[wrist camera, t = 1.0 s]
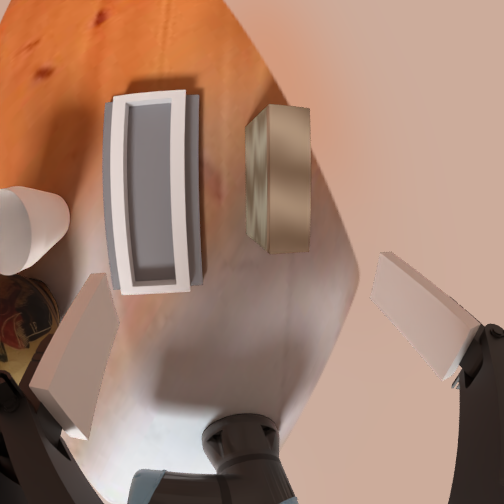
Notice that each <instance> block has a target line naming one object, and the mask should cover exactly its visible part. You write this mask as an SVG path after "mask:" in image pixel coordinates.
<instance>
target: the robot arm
mask: <svg viewBox="0 0 504 504" xmlns="http://www.w3.org/2000/svg"><path fill="white" fill-rule="evenodd" d="M370 299H371V300H372V301H373V302H374V303H375V305H376V306H377V307H378V308H379V309H380V310H381V311H382V312H383V313H384V314H385V315H386V317H387V318H388V319H389V320H390V321H391V322H392V323H393V324H394V326H395V327H396V328H397V329H398V330H399V331H400V332H401V333H402V335H403V336H404V337H405V338H406V339H407V340H408V342H409V343H410V344H411V345H412V346H413V347H414V349H415V350H416V351H417V352H418V353H419V355H420V356H421V357H422V358H423V359H424V360H425V362H426V363H427V364H428V365H429V367H430V368H431V369H432V370H433V371H434V373H435V374H436V375H437V376H438V377H439V379H440V380H441V381H443V380H445V379H447V378H448V377H450V376H452V375H453V374H454V372H455V370H456V369H457V367H458V365H460V366H461V367H462V370H461V371H460V373H459V375H458V376H457V378H456V379H455V381H454V382H453V384H452V388H454V387H455V385H456V384H457V382H459V385H458V386H457V388H456V389H460V417H459V436H458V449H457V457H456V464H455V471H454V478H453V483H452V488H451V493H450V498H449V502H448V504H504V330H503V329H502V328H501V327H499V326H498V325H495V324H487V325H486V326H483V325H482V324H481V323H480V322H479V321H478V320H476V318H474V317H473V316H472V315H471V314H470V313H469V312H467V311H466V310H464V308H463V307H462V306H461V305H459V304H458V303H457V302H456V301H455V300H454V299H452V298H451V297H449V296H448V295H447V294H445V293H444V292H443V291H442V290H441V289H439V288H438V287H436V285H434V284H433V283H432V282H431V281H429V280H428V279H427V278H425V277H424V276H423V275H422V274H420V273H419V272H418V271H416V270H415V269H414V268H412V267H411V266H410V265H409V264H407V263H406V262H404V261H403V260H402V259H400V258H399V257H398V256H396V255H395V254H394V253H392V252H383V253H380V256H379V260H378V265H377V270H376V275H375V279H374V284H373V288H372V292H371V296H370ZM119 324H120V322H119V318H118V315H117V312H116V309H115V305H114V302H113V298H112V295H111V291H110V288H109V284H108V280H107V276H106V273H96V274H91V275H90V276H89V278H88V279H87V281H86V282H85V284H84V285H83V287H82V288H81V290H80V292H79V293H78V295H77V296H76V298H75V300H74V301H73V303H72V304H71V306H70V308H69V309H68V311H67V313H66V314H65V316H64V318H63V320H62V321H61V323H60V325H59V327H58V328H57V330H56V332H55V334H48V335H47V336H46V337H45V338H44V339H43V340H42V341H41V342H40V344H39V346H38V347H37V349H36V351H35V352H36V353H34V355H33V357H32V359H31V360H32V361H30V363H29V365H28V367H27V369H26V371H25V373H24V375H23V377H22V379H21V381H20V383H19V385H18V384H17V383H16V381H15V380H14V379H13V377H12V376H11V374H10V373H9V372H7V371H6V370H0V504H104V503H103V502H102V501H101V499H100V498H99V497H98V495H97V494H96V492H95V491H94V489H93V488H92V486H91V485H90V483H89V482H88V480H87V479H86V477H85V476H84V474H83V473H82V471H81V469H80V468H79V466H78V465H77V463H76V461H75V459H74V458H73V456H72V454H71V452H70V451H69V449H68V447H67V445H66V443H65V441H64V440H63V439H62V437H61V436H60V435H61V431H62V429H63V430H64V431H65V432H66V433H67V434H68V435H69V436H70V437H73V438H79V439H84V440H89V435H90V430H91V425H92V421H93V416H94V411H95V407H96V403H97V399H98V395H99V391H100V387H101V383H102V379H103V376H104V372H105V369H106V365H107V362H108V358H109V355H110V352H111V348H112V345H113V342H114V339H115V336H116V333H117V330H118V327H119ZM202 445H203V450H204V452H205V454H206V455H207V457H208V459H209V460H210V462H211V464H212V465H213V467H214V468H215V470H216V472H217V474H191V473H177V472H168V471H166V470H162V471H160V470H149V469H141V470H139V471H137V472H136V473H135V475H134V477H133V479H132V483H131V487H130V491H129V497H128V503H127V504H298V501H297V497H295V494H294V492H293V490H292V488H291V485H290V483H289V481H288V478H287V476H286V474H285V472H284V469H283V467H282V465H281V462H280V460H279V432H278V430H277V428H276V425H275V423H274V422H273V421H272V420H270V419H269V418H267V417H264V416H261V415H256V414H240V415H233V416H229V417H226V418H223V419H220V420H218V421H216V422H214V423H213V424H211V425H210V426H209V427H208V428H207V429H206V430H205V431H204V433H203V435H202Z"/></svg>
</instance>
